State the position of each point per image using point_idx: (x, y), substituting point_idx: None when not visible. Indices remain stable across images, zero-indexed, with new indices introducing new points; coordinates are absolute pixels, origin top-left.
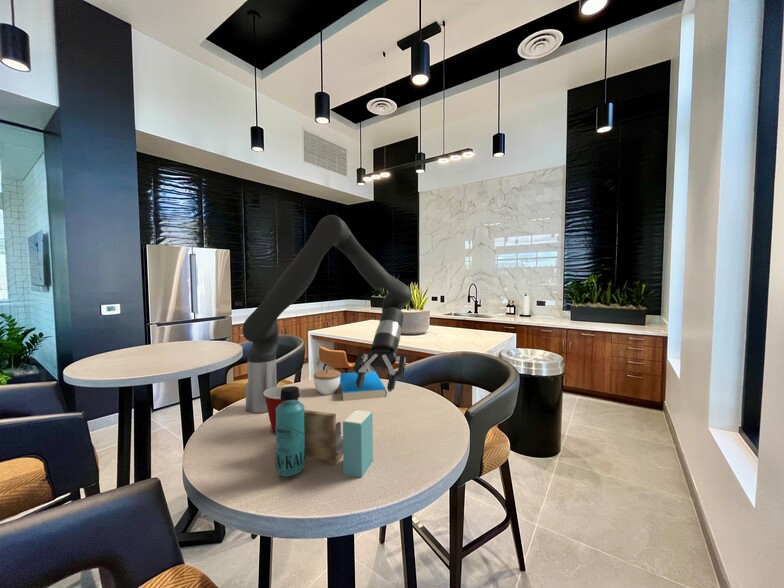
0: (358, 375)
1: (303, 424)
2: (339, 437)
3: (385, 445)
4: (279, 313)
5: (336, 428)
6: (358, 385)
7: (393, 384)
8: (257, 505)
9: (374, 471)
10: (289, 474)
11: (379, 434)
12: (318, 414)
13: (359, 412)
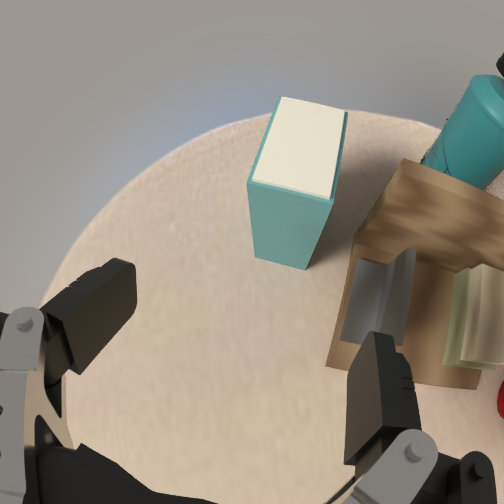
0: (415, 419)
1: (455, 128)
2: None
3: (221, 344)
4: None
5: (395, 309)
6: (377, 332)
7: (80, 280)
8: (425, 134)
9: (247, 212)
10: None
11: (245, 417)
12: (457, 180)
13: (306, 172)
